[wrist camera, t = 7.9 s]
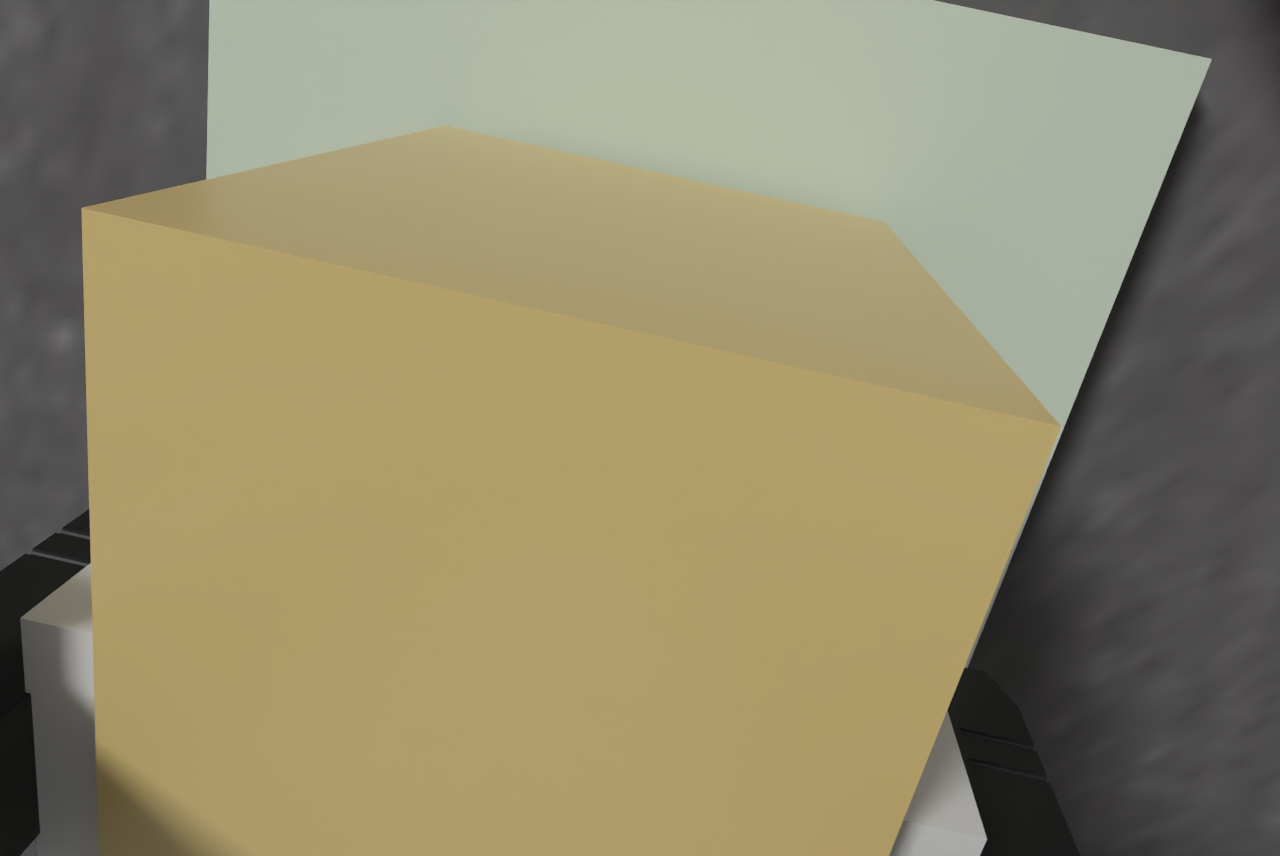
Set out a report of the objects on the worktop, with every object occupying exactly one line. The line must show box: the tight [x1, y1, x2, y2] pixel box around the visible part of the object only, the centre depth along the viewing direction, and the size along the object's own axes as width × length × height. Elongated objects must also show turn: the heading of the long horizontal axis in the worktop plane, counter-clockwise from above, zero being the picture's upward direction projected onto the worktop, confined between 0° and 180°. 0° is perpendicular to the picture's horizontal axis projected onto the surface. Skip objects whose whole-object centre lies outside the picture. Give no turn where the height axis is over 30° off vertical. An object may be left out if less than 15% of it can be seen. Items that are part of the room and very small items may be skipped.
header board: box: [206, 0, 1212, 668], centre depth 12 cm, size 12×14×5 cm
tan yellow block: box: [82, 126, 1061, 856], centre depth 10 cm, size 6×9×7 cm, turn 169°
